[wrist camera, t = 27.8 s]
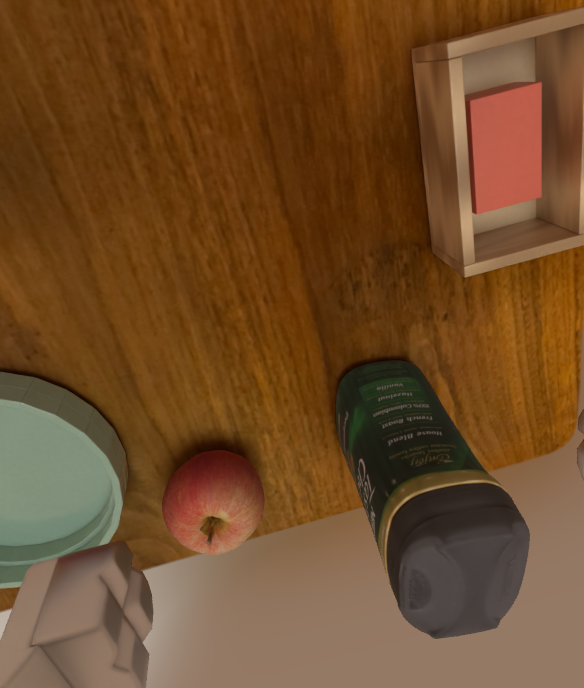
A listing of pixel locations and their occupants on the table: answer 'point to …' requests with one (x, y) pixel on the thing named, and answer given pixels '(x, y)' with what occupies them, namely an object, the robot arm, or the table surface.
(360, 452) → the coffee jar
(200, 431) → the table surface
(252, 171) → the table surface
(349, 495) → the table surface
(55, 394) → the bowl
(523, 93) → the red rectangular block
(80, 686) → the robot arm
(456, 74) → the holder
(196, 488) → the apple
